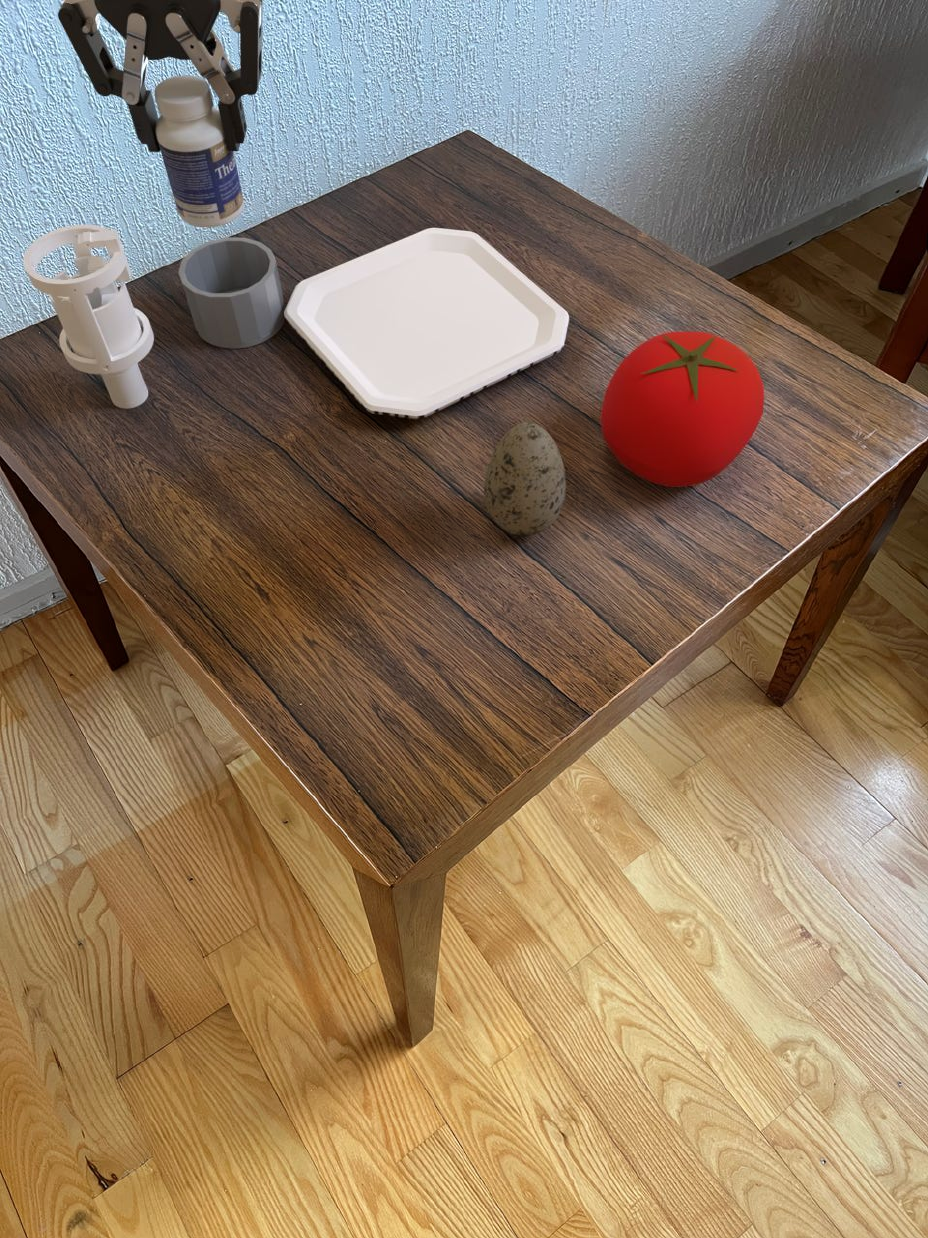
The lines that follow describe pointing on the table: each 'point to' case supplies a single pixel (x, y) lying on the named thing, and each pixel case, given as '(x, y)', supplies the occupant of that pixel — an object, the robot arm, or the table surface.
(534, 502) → the decorative egg
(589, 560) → the table surface
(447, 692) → the table surface
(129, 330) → the white ringed tube holder
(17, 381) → the table surface
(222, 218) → the pill bottle
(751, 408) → the tomato
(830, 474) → the table surface
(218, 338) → the grey faceted pot
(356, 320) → the plate
